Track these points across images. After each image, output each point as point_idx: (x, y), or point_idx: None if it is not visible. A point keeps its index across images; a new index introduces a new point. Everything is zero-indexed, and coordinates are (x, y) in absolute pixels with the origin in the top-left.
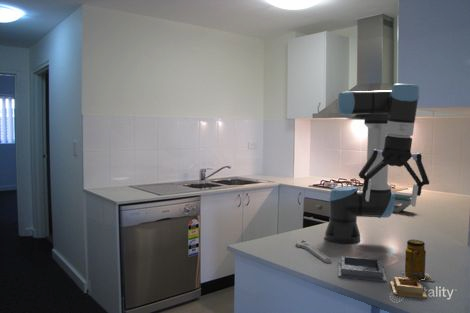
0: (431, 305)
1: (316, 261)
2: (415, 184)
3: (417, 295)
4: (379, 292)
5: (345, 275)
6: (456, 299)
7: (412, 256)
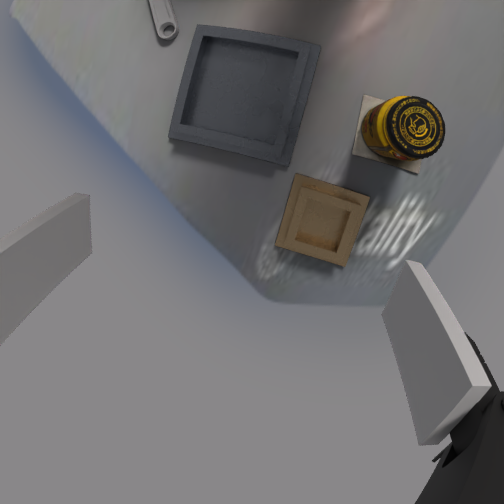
0: (335, 293)
1: (141, 35)
2: (470, 402)
3: (326, 259)
4: (246, 228)
5: (185, 136)
6: None
7: (383, 150)
